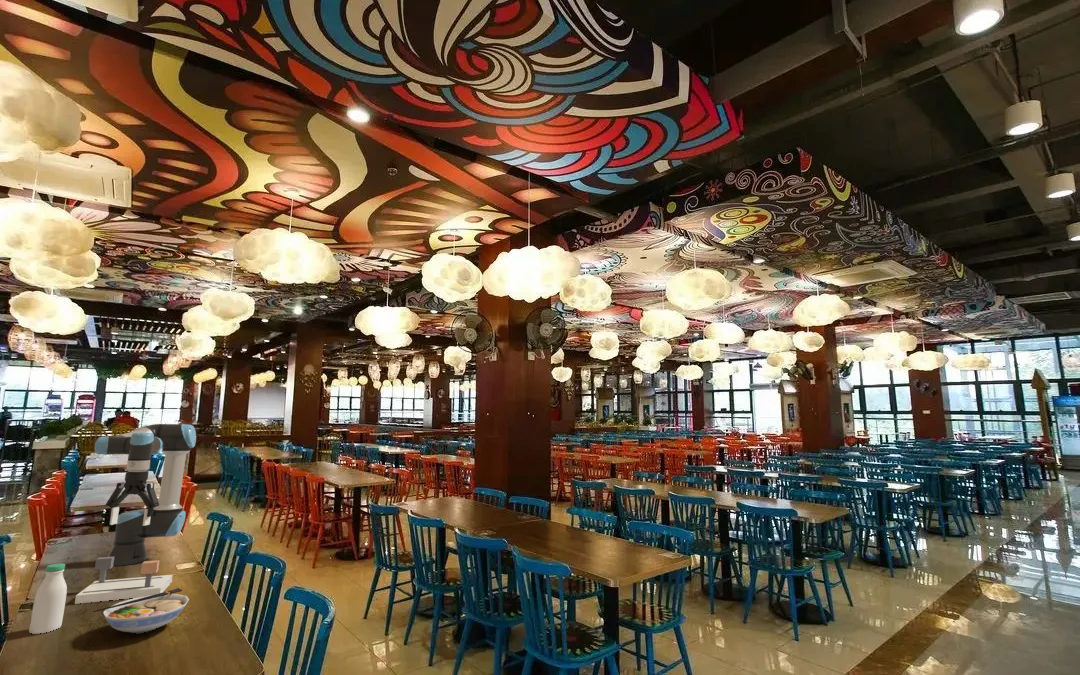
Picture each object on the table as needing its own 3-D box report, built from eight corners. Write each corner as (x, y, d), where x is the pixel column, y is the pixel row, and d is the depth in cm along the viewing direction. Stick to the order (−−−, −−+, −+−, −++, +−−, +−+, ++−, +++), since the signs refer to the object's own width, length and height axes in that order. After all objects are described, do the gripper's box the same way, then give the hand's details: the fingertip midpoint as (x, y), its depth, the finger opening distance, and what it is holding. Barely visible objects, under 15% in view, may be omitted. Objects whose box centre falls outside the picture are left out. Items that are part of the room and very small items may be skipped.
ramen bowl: (111, 652, 151) (116, 622, 152) (83, 633, 163) (87, 606, 164) (202, 625, 172) (205, 599, 173) (171, 610, 184) (174, 586, 185)
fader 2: (141, 585, 199) (144, 561, 201) (156, 584, 201) (159, 560, 203) (138, 587, 197) (142, 563, 198) (154, 586, 199) (157, 562, 200)
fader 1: (95, 581, 203) (99, 557, 205) (110, 579, 205) (114, 556, 207) (92, 583, 201) (96, 559, 202) (108, 582, 202) (111, 558, 204)
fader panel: (94, 588, 204) (95, 580, 204) (171, 582, 214) (172, 574, 215) (74, 604, 188) (76, 595, 188) (159, 596, 198) (160, 587, 198)
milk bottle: (67, 627, 168) (77, 563, 171) (37, 636, 160) (49, 569, 164) (52, 623, 170) (62, 560, 173) (22, 632, 163) (34, 566, 166)
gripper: (99, 471, 206) (91, 525, 203) (160, 472, 206) (152, 527, 202) (115, 469, 214) (107, 522, 210) (173, 470, 213) (166, 523, 210)
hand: (129, 524), depth 206 cm, fingers open, 13 cm apart
